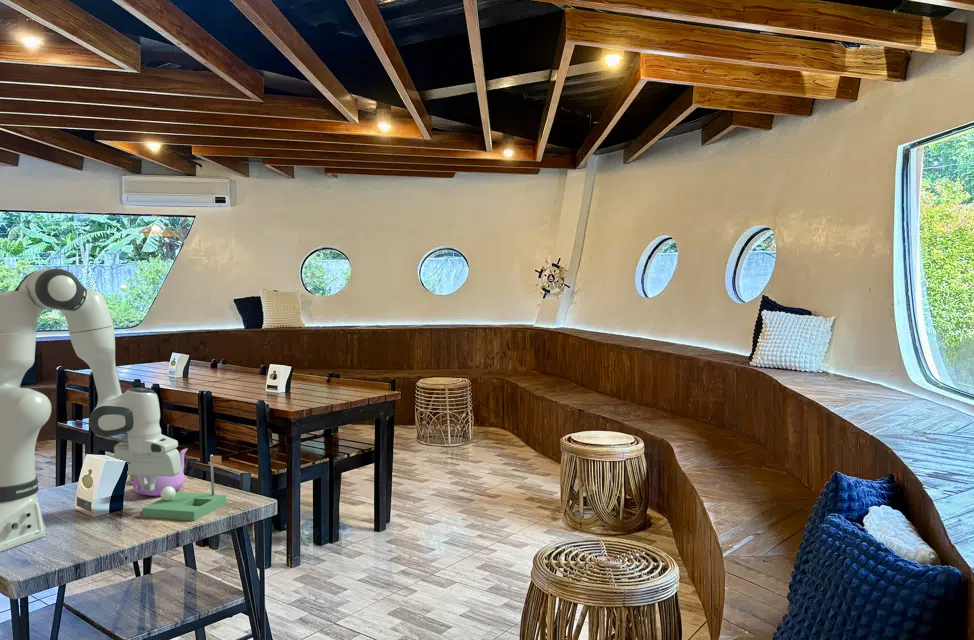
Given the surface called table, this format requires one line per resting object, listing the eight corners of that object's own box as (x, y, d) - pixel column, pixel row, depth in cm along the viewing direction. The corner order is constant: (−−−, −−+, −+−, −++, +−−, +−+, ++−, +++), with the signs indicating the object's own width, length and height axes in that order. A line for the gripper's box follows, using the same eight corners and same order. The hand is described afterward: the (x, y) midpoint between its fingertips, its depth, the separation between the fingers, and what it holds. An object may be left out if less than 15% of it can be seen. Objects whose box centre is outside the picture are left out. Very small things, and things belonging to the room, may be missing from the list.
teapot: (150, 503, 217) (148, 463, 216) (120, 497, 223) (118, 459, 222) (203, 484, 235) (202, 448, 234) (173, 479, 241) (172, 444, 240)
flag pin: (222, 496, 214) (220, 455, 213) (211, 495, 215) (209, 455, 214) (223, 495, 215) (221, 455, 214) (212, 494, 215) (210, 454, 215)
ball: (169, 502, 208) (169, 489, 208) (157, 502, 209) (157, 488, 209) (178, 498, 212) (178, 485, 212) (166, 497, 213) (166, 484, 213)
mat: (194, 520, 200) (194, 511, 200) (142, 516, 204) (142, 508, 204) (226, 503, 215) (226, 495, 215) (177, 500, 219) (176, 491, 219)
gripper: (106, 444, 211) (109, 491, 212) (169, 447, 207) (172, 494, 208) (121, 439, 217) (124, 484, 219) (182, 441, 213) (185, 487, 214)
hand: (148, 489), depth 213 cm, fingers closed
